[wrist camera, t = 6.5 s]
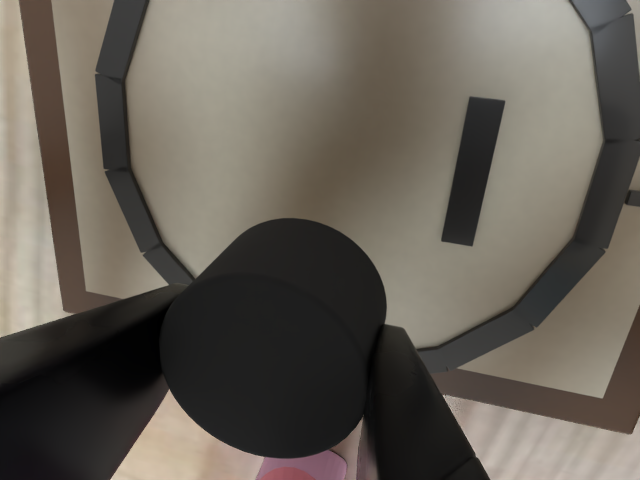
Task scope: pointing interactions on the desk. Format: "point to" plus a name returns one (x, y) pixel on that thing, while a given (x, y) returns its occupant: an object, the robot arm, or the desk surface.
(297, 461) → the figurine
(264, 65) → the board
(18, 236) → the desk surface
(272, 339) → the dot
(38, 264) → the desk surface
